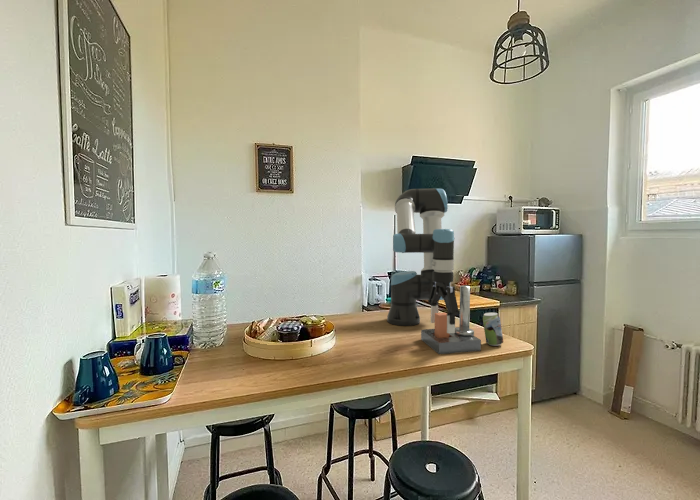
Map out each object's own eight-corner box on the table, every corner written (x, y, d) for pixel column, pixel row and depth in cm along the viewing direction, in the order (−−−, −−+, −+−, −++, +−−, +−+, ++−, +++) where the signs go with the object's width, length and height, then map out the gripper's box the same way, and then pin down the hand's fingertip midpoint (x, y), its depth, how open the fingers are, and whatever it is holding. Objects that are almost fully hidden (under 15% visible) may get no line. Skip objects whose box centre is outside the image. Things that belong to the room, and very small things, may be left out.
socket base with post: (421, 339, 137) (421, 284, 136) (461, 336, 140) (462, 282, 139) (439, 354, 121) (439, 292, 120) (484, 350, 125) (485, 289, 123)
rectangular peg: (434, 344, 132) (434, 313, 131) (444, 343, 133) (444, 312, 132) (439, 347, 128) (439, 315, 127) (449, 346, 129) (449, 315, 128)
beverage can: (505, 348, 127) (505, 315, 126) (483, 346, 129) (484, 314, 128) (501, 342, 133) (501, 311, 132) (480, 341, 135) (481, 310, 134)
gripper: (420, 267, 140) (419, 319, 141) (449, 275, 115) (448, 338, 117) (437, 266, 141) (437, 318, 143) (470, 275, 117) (469, 337, 118)
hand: (442, 327), depth 130 cm, fingers open, 13 cm apart
